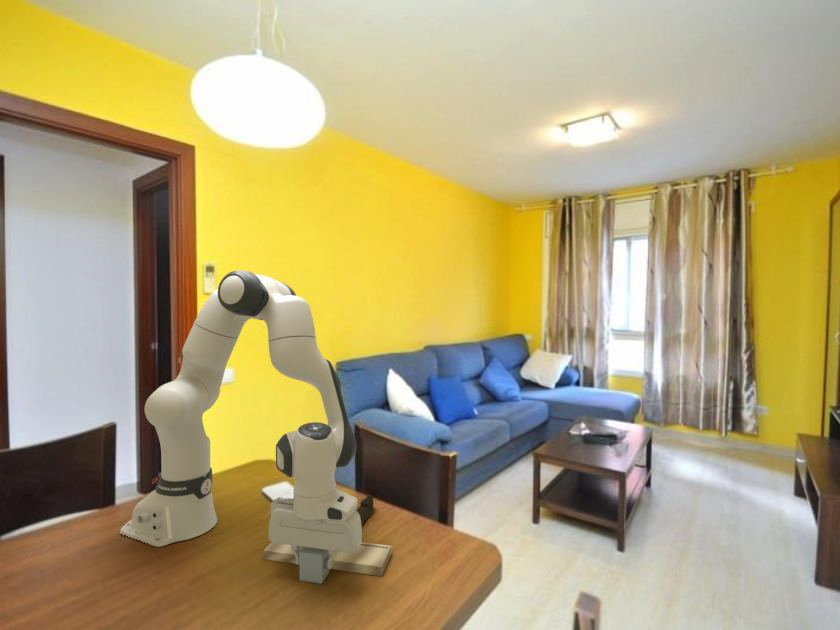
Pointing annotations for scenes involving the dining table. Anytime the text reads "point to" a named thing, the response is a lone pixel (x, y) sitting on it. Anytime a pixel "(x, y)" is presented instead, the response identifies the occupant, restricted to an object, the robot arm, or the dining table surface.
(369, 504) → the rusty railroad spike
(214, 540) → the dining table surface
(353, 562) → the board
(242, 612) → the dining table surface
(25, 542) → the dining table surface
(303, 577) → the grey mallet
